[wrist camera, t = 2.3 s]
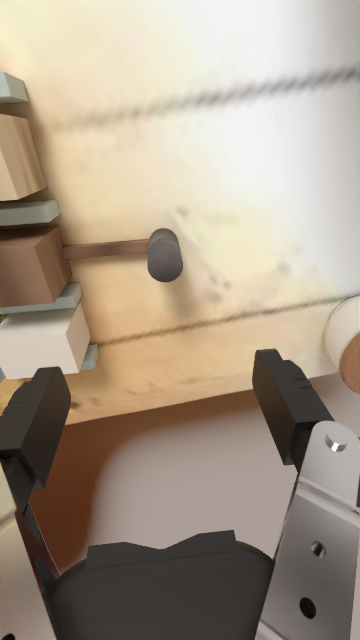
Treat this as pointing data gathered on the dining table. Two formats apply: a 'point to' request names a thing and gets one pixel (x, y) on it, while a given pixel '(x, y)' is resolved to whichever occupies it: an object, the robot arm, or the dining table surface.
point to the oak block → (18, 160)
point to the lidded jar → (345, 341)
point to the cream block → (43, 341)
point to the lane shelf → (10, 91)
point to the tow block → (53, 267)
